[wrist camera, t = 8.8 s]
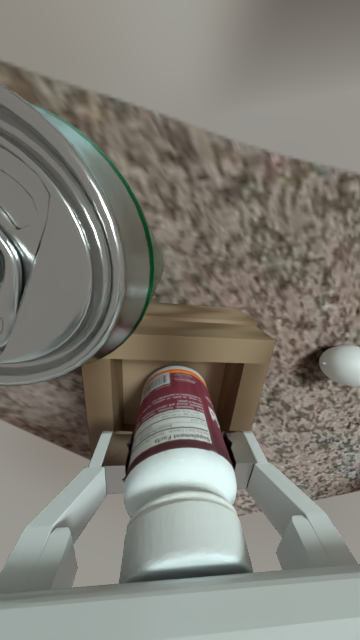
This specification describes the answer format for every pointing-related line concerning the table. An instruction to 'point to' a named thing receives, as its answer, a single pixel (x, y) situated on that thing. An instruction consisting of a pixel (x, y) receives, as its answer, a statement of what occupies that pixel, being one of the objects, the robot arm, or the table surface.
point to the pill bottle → (180, 487)
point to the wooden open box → (181, 350)
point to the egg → (342, 364)
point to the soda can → (65, 248)
